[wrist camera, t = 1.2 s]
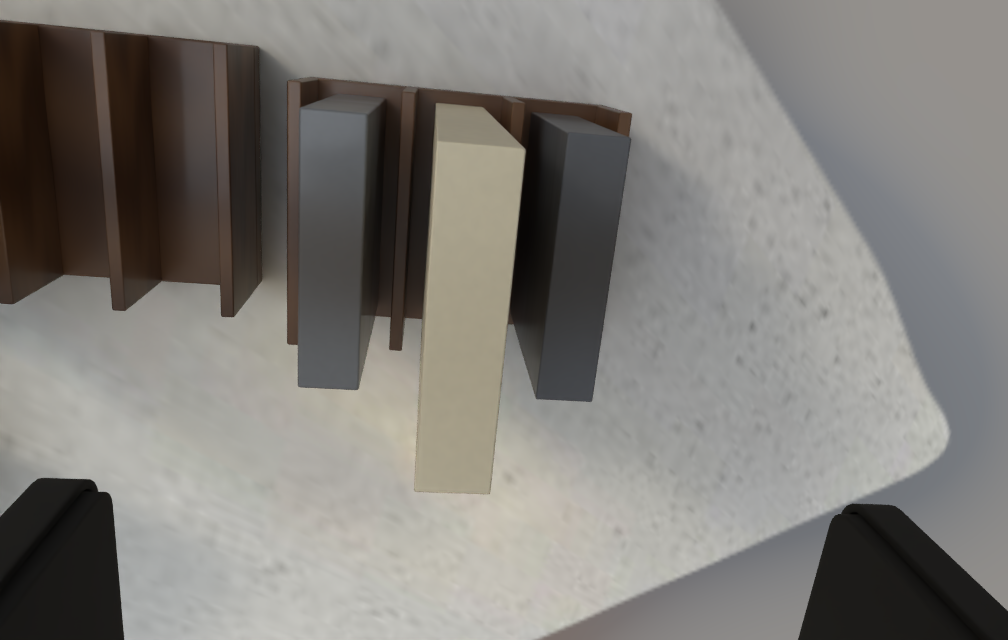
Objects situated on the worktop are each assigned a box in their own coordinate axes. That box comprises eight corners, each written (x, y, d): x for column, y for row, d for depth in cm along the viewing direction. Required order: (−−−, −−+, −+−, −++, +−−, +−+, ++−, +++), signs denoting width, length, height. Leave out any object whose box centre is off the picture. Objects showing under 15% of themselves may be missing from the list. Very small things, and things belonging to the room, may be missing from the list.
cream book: (435, 102, 30) (437, 140, 16) (483, 107, 31) (526, 148, 16) (422, 308, 33) (414, 492, 19) (466, 311, 33) (489, 495, 19)
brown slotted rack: (309, 76, 30) (254, 84, 21) (603, 105, 32) (673, 124, 23) (307, 304, 34) (258, 399, 24) (574, 321, 35) (625, 417, 26)
